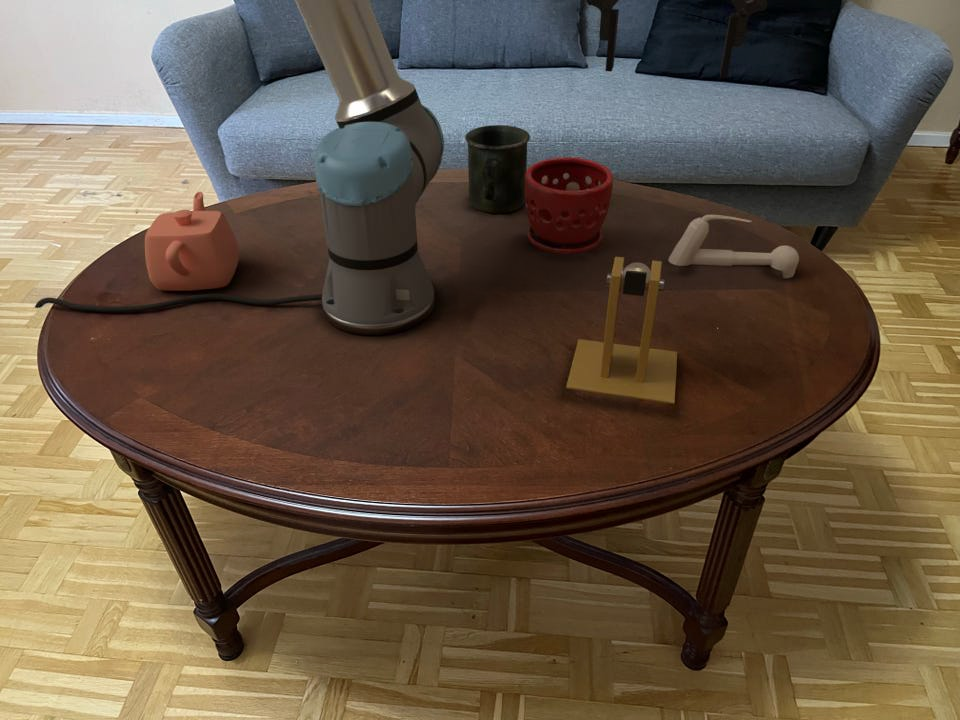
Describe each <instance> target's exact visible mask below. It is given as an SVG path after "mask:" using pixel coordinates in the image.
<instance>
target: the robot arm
mask: <svg viewBox="0 0 960 720" xmlns="http://www.w3.org/2000/svg"><path fill="white" fill-rule="evenodd" d="M619 1H620V0H586V4H587V5H588V6H592V7H594V8H596V9H598V10H599V12H600V20H599V31H598V32H599V33H598V37H599V40H600V41H606V42H607V48H606V60H605V69H604V72H612V71H613V68H614V67H615V56H616V48H617V47H616V46H617V45H616V44H617V34H618V26H619V25H618V24H619V13H620V9H619V8H614V7H615V5H616V4H617V3H618V2H619ZM729 1H730V2H731V4H732V6H733V7H734V9H735V11H736V12H730V13H729V17H728V23H727V27H726V28H727V29H726V35H725V39H724V47H723V50H722V51H723V52H722V56H721V57H722V58H721V63H720V68H719V77H720V78H728V73H729V67H730V62H731V56H732V51H733V47H742V45H743V43H744V41H745V35H746V30H747V24H748V20H749V17H750V16H751V15H752V14H755V13H758V12H764V11H765V10H766V9H767V7H768V0H729ZM294 2H295V4H296V6H297V8H298V10H299V13H300V15H301V17H302V19H303V21H304V24H305V26H306V28H307V30H308V33H309V35H310V37H311V39H312V42H313V44H314V47H315V49H316V51H317V53H318V56H319V58H320V60H321V62H322V64H323V67H324V69H325V71H326V74H327V76H328V78H329V81H330V83H331V85H332V87H333V90H334V92H335V94H336V96H337V99H338V106H337V110H336V113H335V114H334V115H335V116H334V120H335V122H336V124H337V127H338V128H335V129H334V130H331V131H330V132H328V133H326V135H324V136H323V137H322V138H321V139H320V141H319V143H317V145H316V148H315V151H314V163H315V167H314V169H315V170H314V177H315V182H316V185H317V190H318V195H319V202H320V208H321V214H322V220H323V227H324V234H325V240H326V245H327V252H328V264H327V268H326V274H325V278H324V284H323V289H322V292H321V293H318V294H308V295H307V294H306V295H296V296H295V295H294V296H287V297H281V298H269V299H266V298H265V299H264V298H261V299H260V298H251V297H250V298H249V297H245V296H239V295H232V294H225V293H205V294H204V293H203V294H195V295H189V296H183V297H178V298H174V299H169V300H165V301H161V302H155V303H149V304H140V305H126V306H125V305H124V306H123V305H120V306H117V305H115V306H114V305H113V306H112V305H111V306H110V305H92V304H79V303H72V302H69V301H66V300H62V299H60V298H57V297H50V296H49V297H43V298H41V299H39V300H38V301H37V302H36V303H35V305H34V308H35V309H40V308H42V307H43V306H45V305H46V304H53V305H56V306H60V307H63V308H66V309H70V310H74V311H83V312H99V313H135V312H136V313H137V312H147V311H155V310H160V309H164V308H170V307H173V306H178V305H181V304H188V303H192V302H198V301H210V300H211V301H212V300H217V301H219V300H221V301H231V302H236V303H241V304H247V305H254V306H277V305H283V304H284V305H285V304H291V303H292V304H293V303H303V302H312V301H313V302H314V301H321V305H322V311H323V315H324V318H325V319H326V321H327V322H328V323H329V324H331V325H332V326H333V327H335V328H337V329H339V330H341V331H344V332H347V333H350V334H354V335H355V334H356V335H363V336H379V335H380V336H381V335H382V336H383V335H388V334H394V333H399V332H403V331H405V330H408V329H410V328H413V327H415V326H416V325H419V324H421V323H422V322H423V321H424V320H426V319H427V318H428V317H429V316H430V315H431V314H432V312H433V310H434V309H435V305H436V303H435V302H436V301H435V288H434V286H433V283H432V280H431V278H430V276H429V273H428V271H427V269H426V266H425V264H424V262H423V260H422V257H421V255H420V253H419V248H418V232H417V231H418V230H417V217H416V207H417V206H416V205H417V203H418V201H419V200H420V198H421V196H422V195H423V193H424V192H425V190H426V189H427V187H428V185H429V184H430V182H432V180H433V179H434V178H435V176H436V175H437V173H438V171H439V169H440V166H441V164H442V160H443V156H444V149H445V138H444V134H443V129H442V126H441V124H440V122H439V120H438V118H437V117H436V115H435V114H434V113H433V112H432V111H431V110H430V109H429V108H428V107H427V106H425V105H423V104H422V101H421V99H420V97H419V94H418V92H417V89H416V87H415V84H414V83H412V82H410V81H407V80H405V79H403V78H402V77H400V76H399V74H398V71H397V69H396V66H395V64H394V61H393V58H392V56H391V53H390V50H389V49H388V46H387V43H386V40H385V39H384V36H383V33H382V31H381V28H380V25H379V23H378V20H377V18H376V15H375V12H374V10H373V7H372V5H371V3H370V0H294Z"/></svg>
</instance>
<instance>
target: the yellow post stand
mask: <svg viewBox="0 0 960 720" xmlns="http://www.w3.org/2000/svg"><path fill="white" fill-rule="evenodd" d="M662 263H663V262H662V261H661V260H652V262H651V267H650V271H651V274H650V281H649V287H648V288H647V295H646V303H645V309H644V315H643V323H642V329H641V335H640V344H639V346H637V345H629V344H628V345H627V344H620V343H615V340H616V332H617V331H616V330H617V324H618V313H619V306H620V305H619V304H620V299H621V298H620V297H621V289H622V274H623V270H624V265H625V257H624V256H615V257H614V260H613V264H612V269H611V273H610V272H609V273H608V272H607V275H606V276H607V277H606V280H605V281H606V283H605V287H609V293H608V301H607V308H606V309H607V310H606V317H605V318H606V320H605V329H604V338H603V341H597V340H590V339H589V340H588V339H583V338H578V339H577V343H576V348H575V351H574V355H573V360H572V363H571V367H570V371H569V374H568V380H567V382H566V386H565V388H566V389H567V390H573V391H581V392H585V393H586V392H588V393H595V394H601V395H607V396H608V395H609V396H613V397H614V396H615V397H622V398H627V399H628V398H629V399H635V400H643V401H650V402H656V403H663V404H669V405H675V404H676V402H675V401H676V387H677V386H676V383H677V369H678V368H677V366H678V351H674V350H666V349H659V348H651V341H652V335H653V328H654V322H655V321H654V320H655V314H656V308H657V303H658V296H659V293H664V287H665V279H664V278H663V279H662V278H661V273H662Z"/></svg>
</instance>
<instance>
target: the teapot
mask: <svg viewBox="0 0 960 720" xmlns="http://www.w3.org/2000/svg"><path fill="white" fill-rule="evenodd" d="M144 257H145V265H146V269H147V274H148V277H149V280H150V282H151V283H152V285H153V286H154V287H155V288H156V289H157V290H159V291H172V292H173V291H176V292H179V291H181V292H189V291H201V290H202V291H203V290H213V289H220V288H224V287H226V286H228V285H229V284H230V283H231V281H232V279H233V277H234V275H235V273H236V271H237V268H238V265H239V259H240V249H239V246H238V243H237V240H236V236H235V234H234V231H233V230H232V227H231V226H230V223H229V221H228V220H227V218H226V216H225V215H224V213H223V212H222V211H218V210H206V207H205V204H204V193H203V192H202V191H198V192H196V193H195V194H194V197H193V205H192V210H190V209H178V210H176V211H172V212H171V211H170V212H165V213H161V214H159V215H158V216H157V217H156V218H155V219H154V220H153V222H151V224H150V226H149V227H148V229H147V230H146V232H145V234H144Z"/></svg>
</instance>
